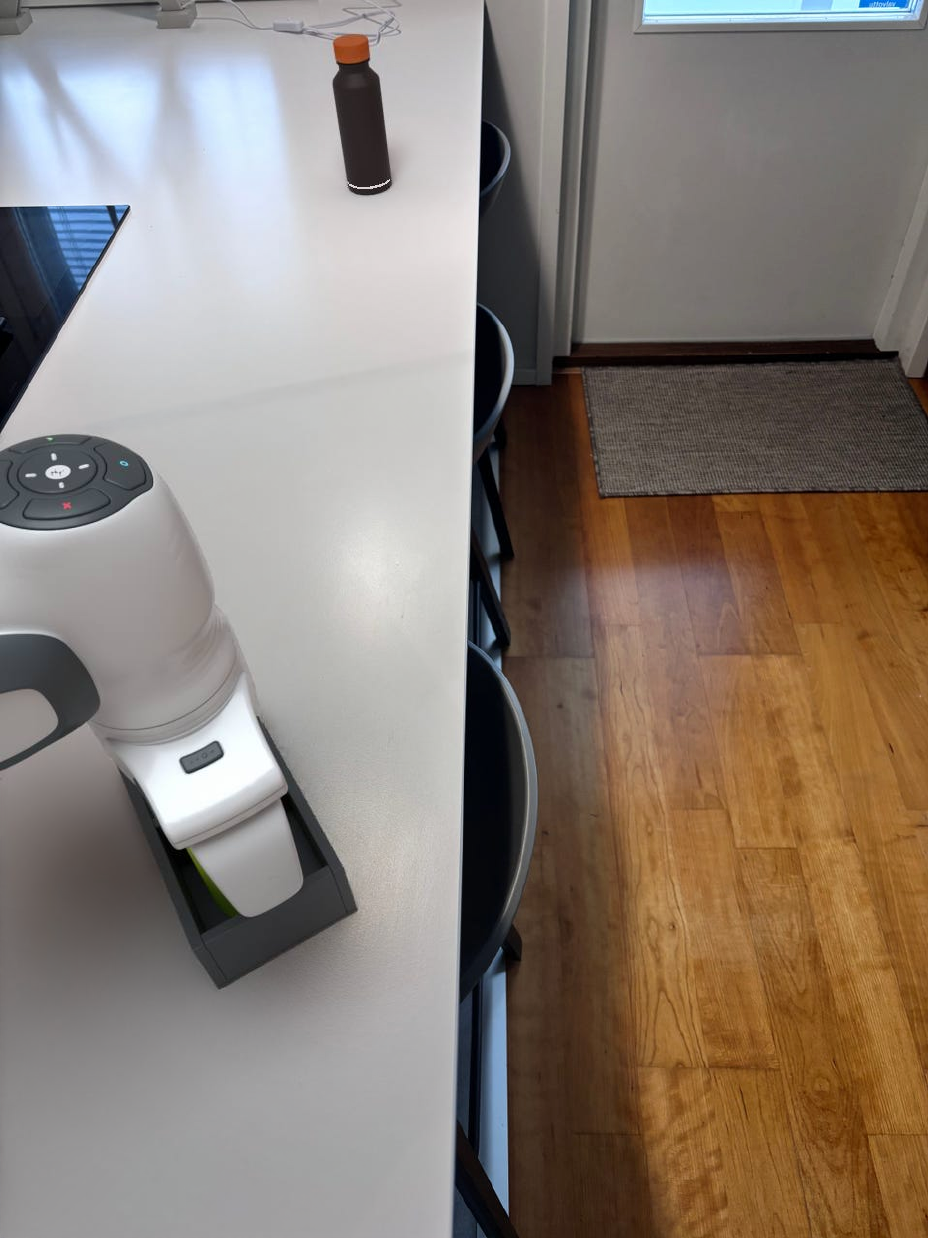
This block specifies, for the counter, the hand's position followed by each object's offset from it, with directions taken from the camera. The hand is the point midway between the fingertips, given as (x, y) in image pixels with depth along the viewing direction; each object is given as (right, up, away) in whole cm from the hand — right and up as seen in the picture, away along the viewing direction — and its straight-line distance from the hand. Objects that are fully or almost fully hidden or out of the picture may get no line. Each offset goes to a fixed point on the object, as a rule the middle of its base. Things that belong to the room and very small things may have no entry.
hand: (234, 819), depth 63 cm
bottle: (+1, +80, +83) cm, 115 cm away
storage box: (-2, -3, +9) cm, 10 cm away
